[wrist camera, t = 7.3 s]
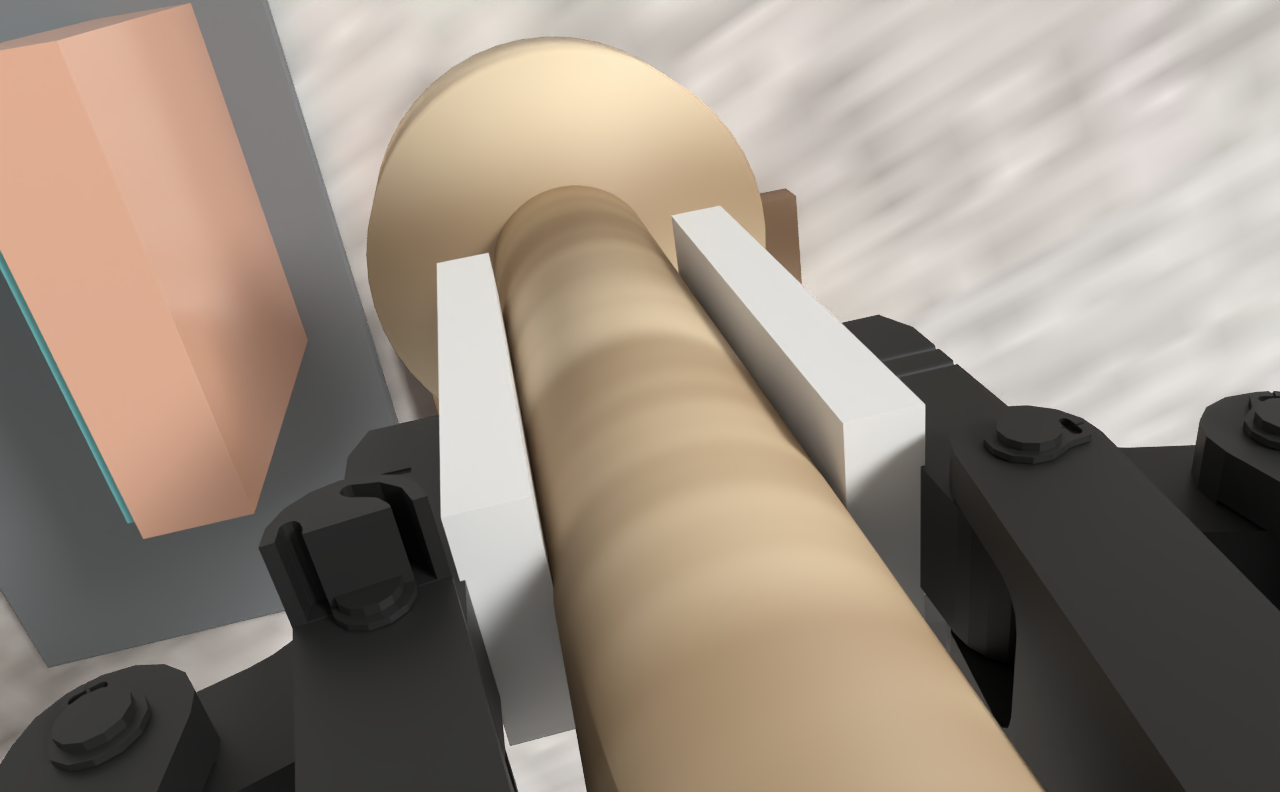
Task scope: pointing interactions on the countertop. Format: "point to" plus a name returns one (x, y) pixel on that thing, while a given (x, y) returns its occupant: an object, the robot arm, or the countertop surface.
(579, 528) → the masher
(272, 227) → the mat
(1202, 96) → the countertop surface
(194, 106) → the tile
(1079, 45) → the countertop surface
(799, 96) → the countertop surface
